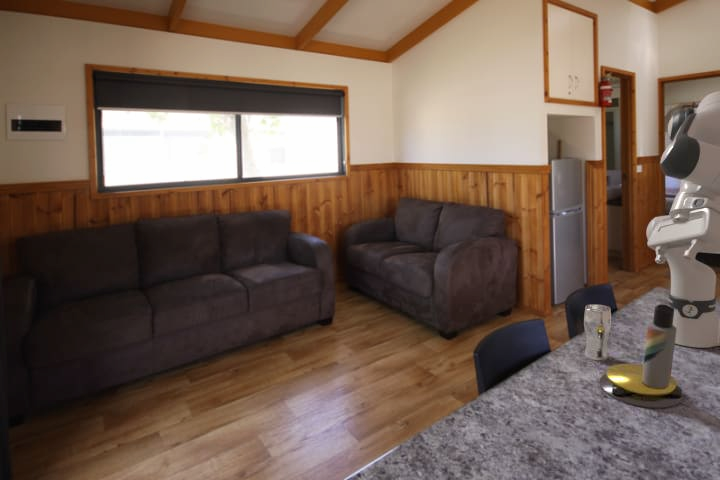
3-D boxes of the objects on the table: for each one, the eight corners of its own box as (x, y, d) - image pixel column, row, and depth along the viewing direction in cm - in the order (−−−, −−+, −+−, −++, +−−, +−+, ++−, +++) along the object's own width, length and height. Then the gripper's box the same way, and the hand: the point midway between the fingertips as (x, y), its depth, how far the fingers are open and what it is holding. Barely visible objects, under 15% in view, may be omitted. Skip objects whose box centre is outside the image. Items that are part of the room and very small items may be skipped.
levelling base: (607, 367, 130) (607, 355, 129) (685, 383, 119) (686, 371, 118) (592, 395, 116) (593, 382, 115) (679, 416, 105) (680, 403, 104)
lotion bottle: (663, 378, 115) (673, 302, 110) (673, 390, 110) (683, 312, 105) (638, 376, 116) (646, 301, 112) (646, 388, 111) (655, 310, 106)
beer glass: (612, 361, 133) (615, 312, 130) (586, 361, 134) (588, 311, 131) (605, 351, 139) (607, 304, 137) (580, 350, 141) (581, 303, 138)
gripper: (650, 215, 127) (633, 259, 124) (714, 196, 107) (695, 249, 104) (671, 225, 127) (654, 270, 124) (738, 209, 107) (719, 262, 104)
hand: (673, 260), depth 114 cm, fingers open, 8 cm apart
